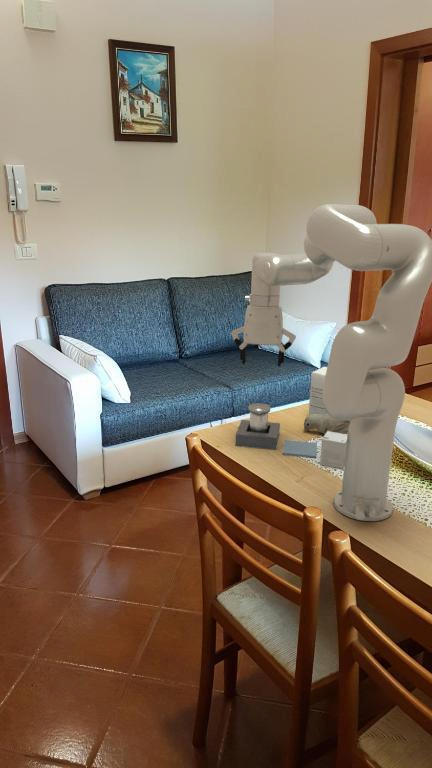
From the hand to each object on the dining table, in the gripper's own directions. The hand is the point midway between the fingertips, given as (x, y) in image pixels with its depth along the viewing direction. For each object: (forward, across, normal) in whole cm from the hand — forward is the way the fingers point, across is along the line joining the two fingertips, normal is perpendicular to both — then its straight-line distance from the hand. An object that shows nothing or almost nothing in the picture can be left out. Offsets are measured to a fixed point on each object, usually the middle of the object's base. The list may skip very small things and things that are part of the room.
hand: (261, 364), depth 152 cm
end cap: (+22, 0, 0) cm, 22 cm away
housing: (+22, 0, 0) cm, 22 cm away
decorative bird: (+23, +20, +9) cm, 32 cm away
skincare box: (+22, +21, -10) cm, 32 cm away
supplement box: (+22, +19, +24) cm, 38 cm away
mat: (+22, +12, -4) cm, 26 cm away
